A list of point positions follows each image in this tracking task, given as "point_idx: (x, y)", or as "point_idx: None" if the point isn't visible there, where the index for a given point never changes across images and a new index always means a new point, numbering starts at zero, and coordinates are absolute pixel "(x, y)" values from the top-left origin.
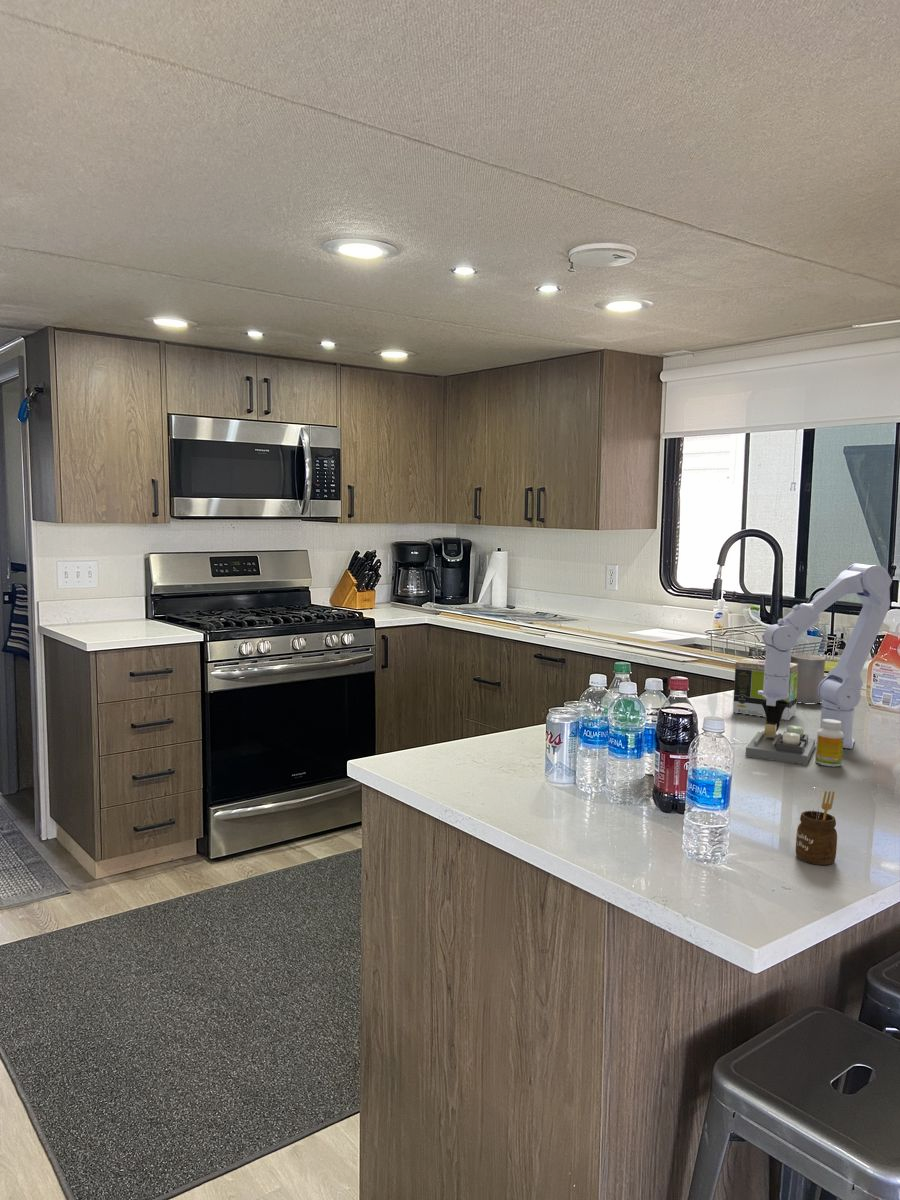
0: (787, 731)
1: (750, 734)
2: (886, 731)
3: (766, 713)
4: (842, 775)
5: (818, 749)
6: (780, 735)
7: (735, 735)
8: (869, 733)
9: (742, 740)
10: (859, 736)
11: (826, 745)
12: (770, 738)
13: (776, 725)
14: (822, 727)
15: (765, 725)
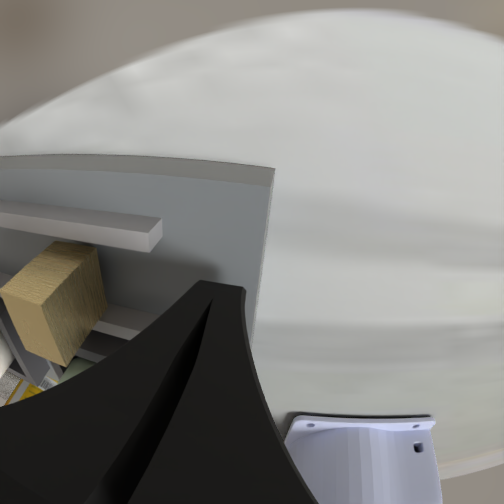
0: (66, 377)
1: (431, 126)
2: (483, 467)
3: (86, 377)
4: (11, 374)
5: (14, 389)
6: (116, 333)
7: (343, 12)
8: (471, 460)
9: (195, 66)
10: (444, 459)
11: None
12: (100, 269)
13: (69, 357)
14: (323, 480)
15: (8, 287)
